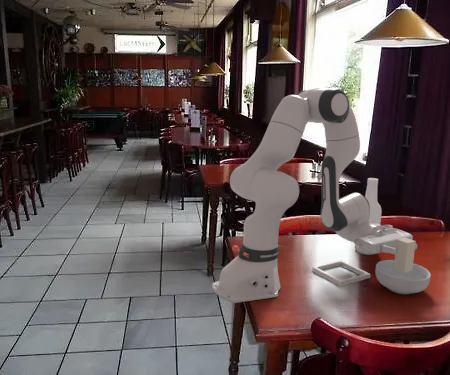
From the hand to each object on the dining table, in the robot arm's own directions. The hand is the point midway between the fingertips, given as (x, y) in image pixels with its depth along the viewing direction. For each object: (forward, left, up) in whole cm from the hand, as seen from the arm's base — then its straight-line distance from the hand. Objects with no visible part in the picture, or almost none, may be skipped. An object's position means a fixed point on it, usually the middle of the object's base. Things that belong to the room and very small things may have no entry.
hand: (406, 249), depth 140 cm
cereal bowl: (0, +1, -14) cm, 14 cm away
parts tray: (-9, +18, -14) cm, 25 cm away
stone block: (0, 0, -7) cm, 7 cm away
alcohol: (+17, +30, -14) cm, 38 cm away
